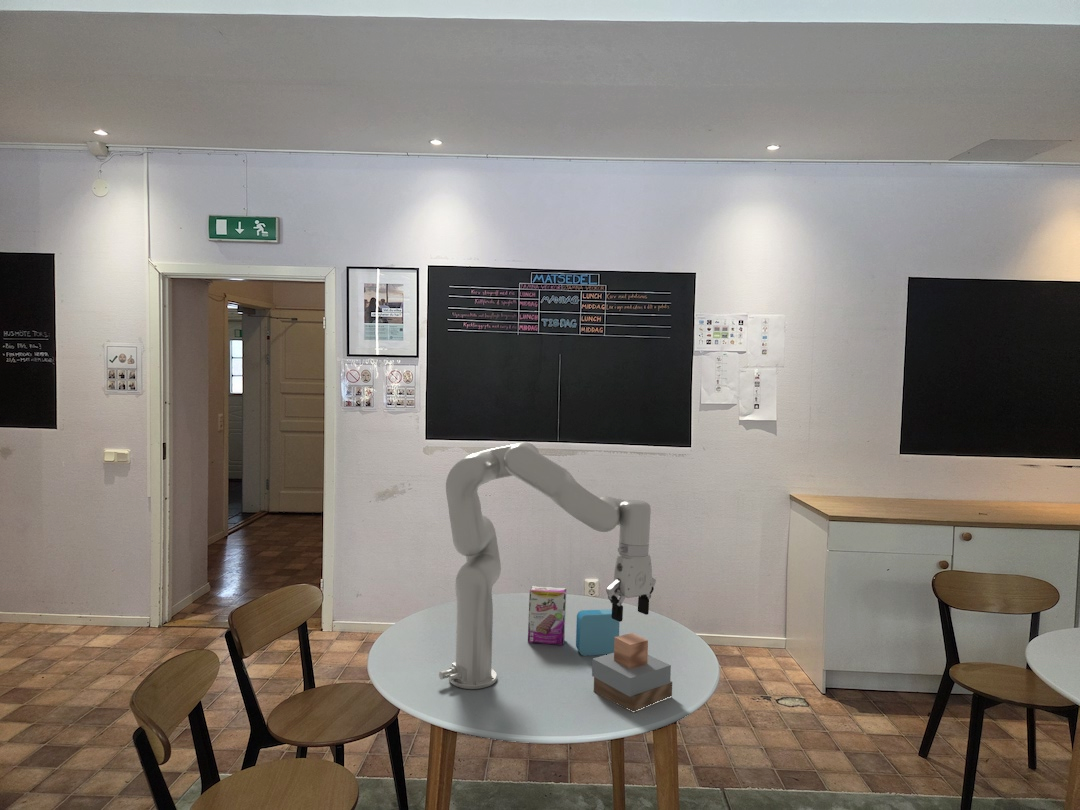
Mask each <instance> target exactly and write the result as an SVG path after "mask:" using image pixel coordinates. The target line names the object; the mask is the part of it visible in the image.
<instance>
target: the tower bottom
mask: <svg viewBox="0 0 1080 810" xmlns="http://www.w3.org/2000/svg"><path fill="white" fill-rule="evenodd" d="M593 692H594V693H595V694H598V695H599V696H601V697H603V698H604V699H606V698H607V700H608V699H609V701H610V700H611V702H612V701H613V702H612V703H614V702H615V703H614V704H616V703H618V704H619V705H618V704H617V705H618V706H620V705H621V706H623V707H625V708H628V709H630V710H632V711H636V710H638V709H641V708H643V707H646V706H648V705H650V704H653V703H655V702H657V701H660V700H663V699H665V698H667V697H670V696H672V697H673V681H672V680H670V683H669V684H666V685H663V686H660V687H657V688H654V689H651V690H648V691H645V692H643V693H640V694H637V695H634V696H631V697H629V696H628V695H626V694H624V693H622V692H620V691H618V690H617V689H615V688H613V687H611V686H609V685H608V684H606V683H604V682H602V681H600V680H598V679H597V678H595V677H593ZM621 706H620V707H621ZM623 707H622V708H623ZM625 708H624V709H625Z"/></svg>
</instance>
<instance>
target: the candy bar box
mask: <svg viewBox="0 0 1080 810" xmlns="http://www.w3.org/2000/svg"><path fill="white" fill-rule="evenodd" d="M566 606H567V588H565V587H554V586H553V587H550V586H540V585H539V586H538V585H531V587H530V590H529V600H528V608H529V609H528V623H527V625H528V629H527V643H530V644H540V645H541V644H543V645H557V646H564V642H565V637H566V610H567V609H566V608H567V607H566Z"/></svg>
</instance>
